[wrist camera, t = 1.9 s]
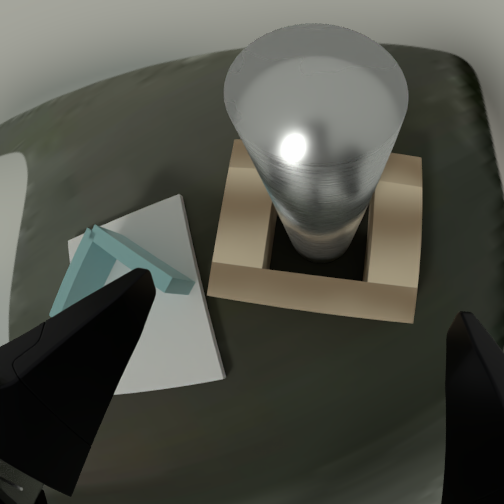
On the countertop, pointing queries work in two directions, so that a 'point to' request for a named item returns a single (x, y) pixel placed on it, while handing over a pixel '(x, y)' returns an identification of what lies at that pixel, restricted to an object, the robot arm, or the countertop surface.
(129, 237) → the plate with teal chevron
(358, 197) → the silver metal cylinder
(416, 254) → the wooden frame
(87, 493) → the countertop surface
